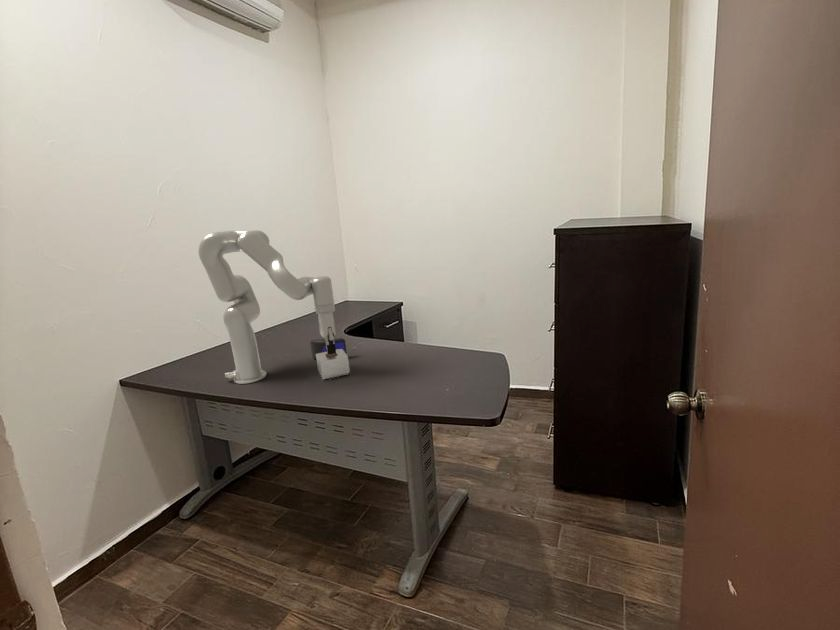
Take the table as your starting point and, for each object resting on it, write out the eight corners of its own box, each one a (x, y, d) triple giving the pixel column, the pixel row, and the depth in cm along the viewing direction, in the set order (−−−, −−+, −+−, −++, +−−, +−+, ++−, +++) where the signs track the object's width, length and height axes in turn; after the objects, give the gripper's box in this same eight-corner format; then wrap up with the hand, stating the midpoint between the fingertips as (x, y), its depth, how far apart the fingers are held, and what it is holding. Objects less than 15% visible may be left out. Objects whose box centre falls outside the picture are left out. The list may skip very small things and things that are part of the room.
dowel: (329, 363, 167) (325, 335, 164) (327, 361, 170) (323, 333, 167) (337, 362, 168) (333, 333, 165) (335, 359, 171) (331, 332, 168)
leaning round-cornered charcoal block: (310, 362, 186) (306, 342, 184) (313, 358, 191) (310, 338, 188) (345, 360, 184) (342, 340, 182) (347, 357, 189) (345, 337, 186)
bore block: (322, 380, 163) (320, 361, 161) (318, 371, 173) (315, 353, 171) (350, 374, 167) (347, 356, 165) (344, 366, 177) (342, 348, 175)
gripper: (312, 305, 169) (318, 348, 174) (318, 313, 154) (325, 360, 159) (330, 303, 172) (336, 345, 177) (338, 310, 157) (344, 356, 162)
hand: (330, 351), depth 168 cm, fingers open, 3 cm apart
